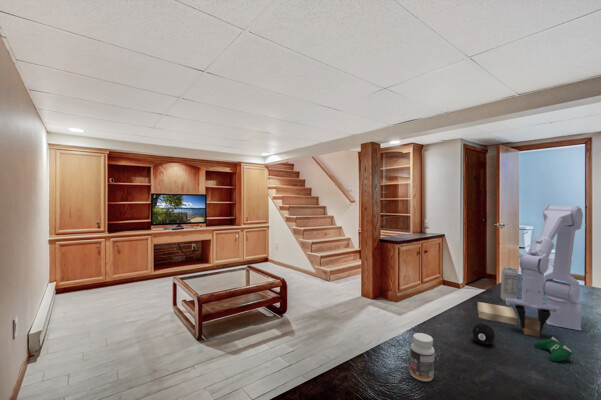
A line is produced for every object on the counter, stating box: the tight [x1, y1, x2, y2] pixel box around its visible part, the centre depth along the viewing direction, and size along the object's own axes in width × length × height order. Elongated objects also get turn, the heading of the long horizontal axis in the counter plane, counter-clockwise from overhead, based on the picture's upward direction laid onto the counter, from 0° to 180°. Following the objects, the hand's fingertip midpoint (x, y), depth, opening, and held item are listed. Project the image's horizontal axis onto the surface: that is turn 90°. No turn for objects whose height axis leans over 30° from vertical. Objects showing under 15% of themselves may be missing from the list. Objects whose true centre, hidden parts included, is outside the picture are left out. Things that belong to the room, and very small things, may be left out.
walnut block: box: [522, 315, 541, 338], centre depth 102 cm, size 4×4×5 cm
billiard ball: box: [471, 322, 496, 345], centre depth 94 cm, size 6×6×6 cm
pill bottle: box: [409, 332, 436, 382], centre depth 76 cm, size 6×6×10 cm
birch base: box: [476, 301, 518, 326], centre depth 117 cm, size 12×12×3 cm
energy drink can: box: [500, 266, 519, 303], centre depth 135 cm, size 6×6×15 cm
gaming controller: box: [533, 336, 573, 362], centre depth 88 cm, size 9×4×6 cm
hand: (530, 329), depth 102 cm, fingers closed on walnut block, 4 cm apart
